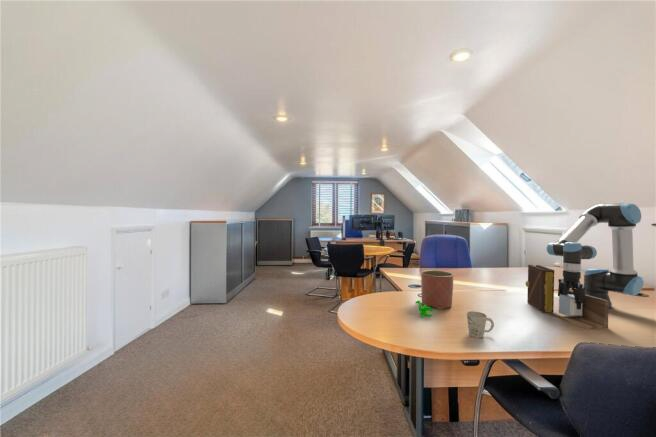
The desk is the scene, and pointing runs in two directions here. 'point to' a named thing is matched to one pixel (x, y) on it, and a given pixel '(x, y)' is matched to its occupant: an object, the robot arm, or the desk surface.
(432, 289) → the planter
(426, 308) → the figurine
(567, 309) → the white block
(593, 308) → the wooden bookend
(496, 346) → the desk surface
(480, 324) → the mug
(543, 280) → the book
